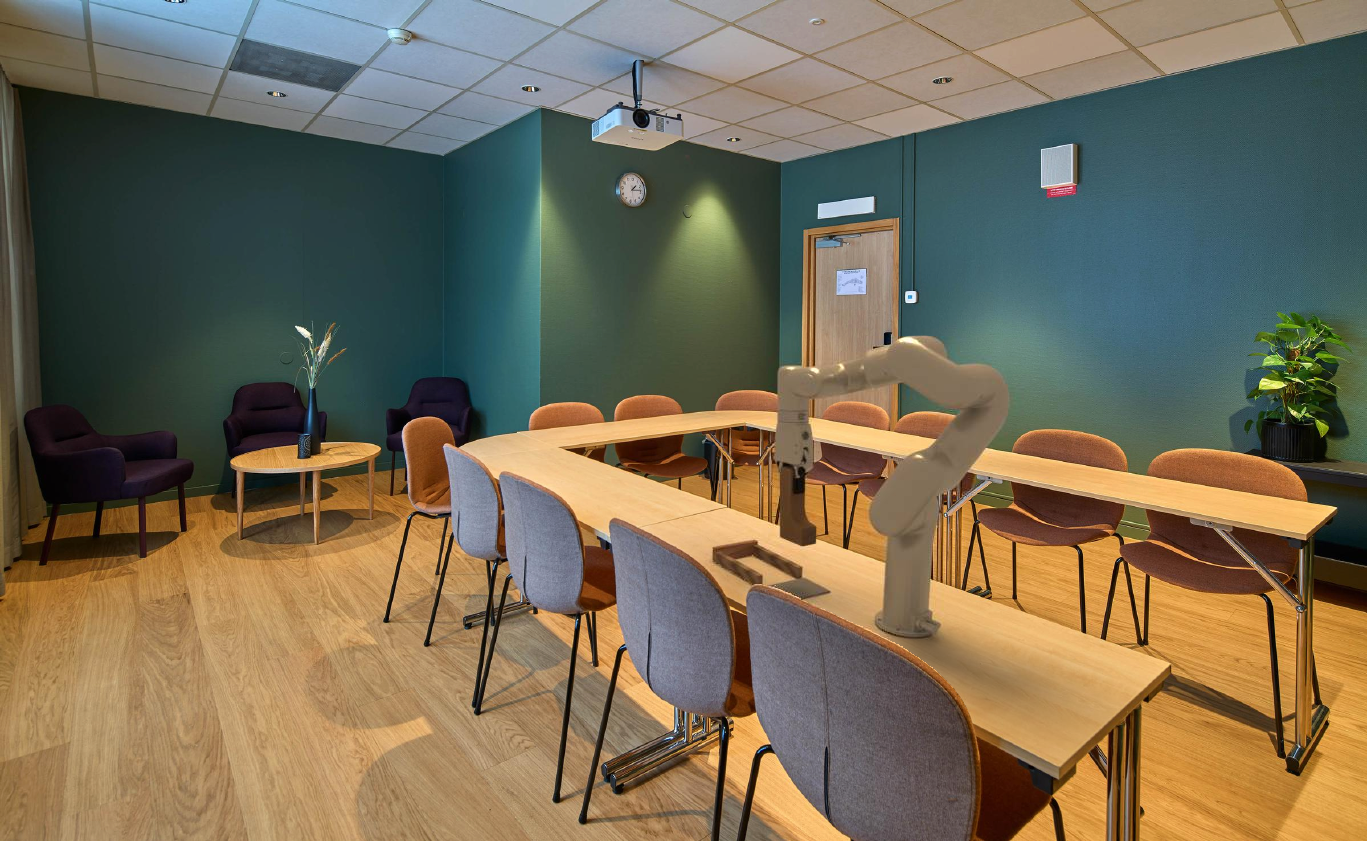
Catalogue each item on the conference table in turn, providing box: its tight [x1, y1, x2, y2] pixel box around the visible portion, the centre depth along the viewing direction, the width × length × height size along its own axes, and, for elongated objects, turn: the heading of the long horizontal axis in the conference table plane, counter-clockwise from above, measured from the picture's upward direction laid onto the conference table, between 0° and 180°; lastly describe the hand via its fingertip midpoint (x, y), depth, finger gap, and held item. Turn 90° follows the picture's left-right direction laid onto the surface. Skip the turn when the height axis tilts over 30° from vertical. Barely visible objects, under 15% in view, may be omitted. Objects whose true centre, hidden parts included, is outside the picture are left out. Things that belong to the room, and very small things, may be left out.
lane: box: [711, 539, 803, 586], centre depth 188 cm, size 22×14×4 cm, turn 29°
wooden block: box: [779, 465, 817, 547], centre depth 171 cm, size 9×4×18 cm, turn 29°
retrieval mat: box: [767, 577, 831, 600], centre depth 173 cm, size 10×14×1 cm
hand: (792, 490), depth 172 cm, fingers closed on wooden block, 4 cm apart
